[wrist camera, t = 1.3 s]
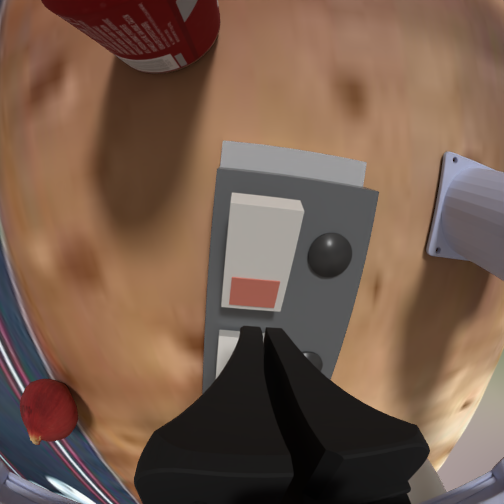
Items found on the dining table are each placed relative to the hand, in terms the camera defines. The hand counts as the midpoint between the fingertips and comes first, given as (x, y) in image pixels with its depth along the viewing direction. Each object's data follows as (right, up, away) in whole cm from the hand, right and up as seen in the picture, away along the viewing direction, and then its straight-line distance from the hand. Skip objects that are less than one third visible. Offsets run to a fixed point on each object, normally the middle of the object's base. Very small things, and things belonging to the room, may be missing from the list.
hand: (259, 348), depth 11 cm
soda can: (-6, +18, +4) cm, 19 cm away
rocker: (0, +3, +4) cm, 5 cm away
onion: (-19, -9, +12) cm, 25 cm away
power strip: (+1, -3, +11) cm, 11 cm away
